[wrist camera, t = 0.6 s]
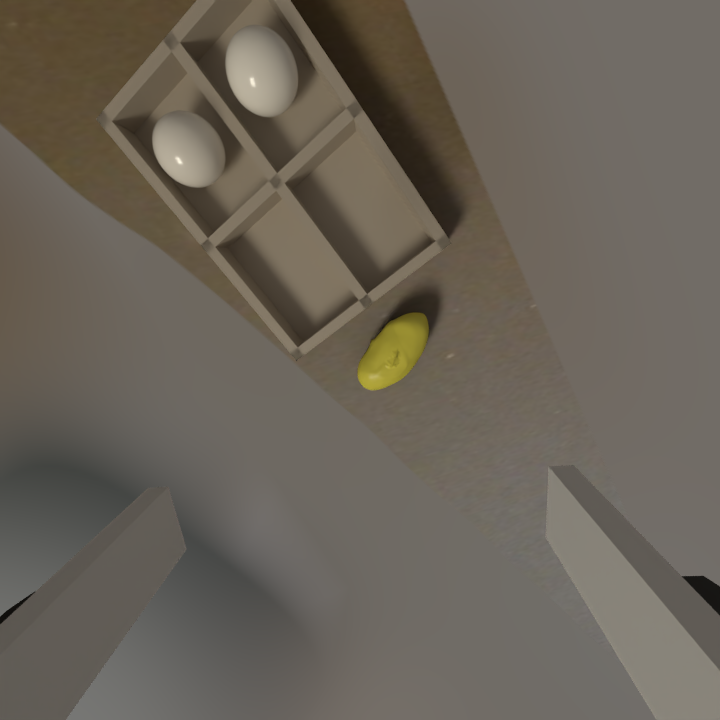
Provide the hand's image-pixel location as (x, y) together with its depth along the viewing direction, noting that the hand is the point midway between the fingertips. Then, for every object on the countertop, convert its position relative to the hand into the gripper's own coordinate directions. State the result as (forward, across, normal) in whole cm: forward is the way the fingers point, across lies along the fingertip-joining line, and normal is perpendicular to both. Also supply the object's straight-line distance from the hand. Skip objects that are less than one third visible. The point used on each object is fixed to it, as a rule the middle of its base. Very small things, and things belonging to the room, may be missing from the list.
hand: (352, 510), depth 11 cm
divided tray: (+19, -5, +15) cm, 25 cm away
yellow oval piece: (+20, +2, +1) cm, 20 cm away
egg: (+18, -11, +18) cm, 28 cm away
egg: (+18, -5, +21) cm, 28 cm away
